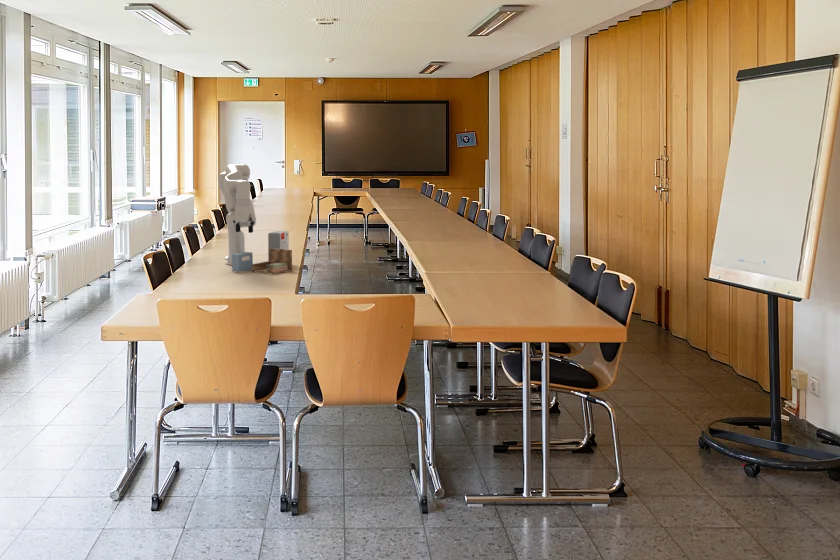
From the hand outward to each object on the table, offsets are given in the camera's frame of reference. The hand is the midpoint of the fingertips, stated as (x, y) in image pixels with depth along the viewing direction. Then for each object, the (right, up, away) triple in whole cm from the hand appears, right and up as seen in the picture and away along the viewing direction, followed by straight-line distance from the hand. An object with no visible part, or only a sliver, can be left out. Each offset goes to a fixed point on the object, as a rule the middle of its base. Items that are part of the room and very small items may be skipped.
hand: (244, 232), depth 503 cm
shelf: (+16, -22, 0) cm, 28 cm away
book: (-2, -22, +3) cm, 22 cm away
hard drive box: (+16, -19, +25) cm, 35 cm away
